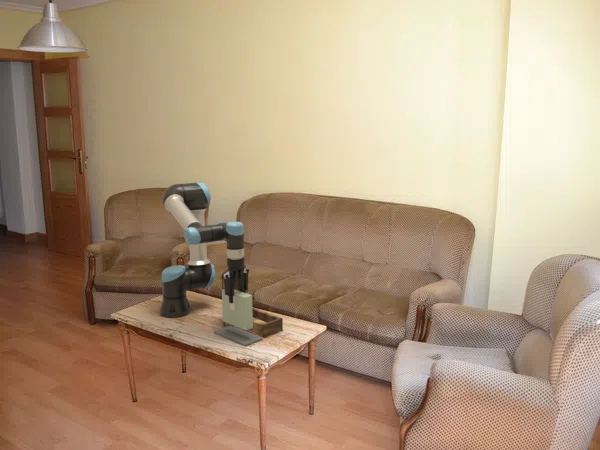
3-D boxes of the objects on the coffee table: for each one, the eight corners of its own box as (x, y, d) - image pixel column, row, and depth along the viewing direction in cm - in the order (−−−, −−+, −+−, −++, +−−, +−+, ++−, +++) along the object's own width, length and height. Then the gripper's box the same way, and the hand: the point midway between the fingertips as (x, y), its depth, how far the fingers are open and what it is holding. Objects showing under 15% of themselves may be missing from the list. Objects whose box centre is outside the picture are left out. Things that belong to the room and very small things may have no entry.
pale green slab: (222, 321, 243) (221, 289, 240) (229, 318, 246) (228, 287, 243) (246, 330, 232) (245, 297, 229) (252, 327, 235) (252, 295, 232)
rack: (234, 325, 252) (234, 313, 251) (253, 319, 260) (252, 307, 259) (264, 337, 238) (264, 325, 237) (282, 330, 247) (282, 318, 246)
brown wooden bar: (238, 326, 251) (238, 315, 250) (243, 324, 254) (243, 313, 253) (262, 336, 240) (262, 325, 239) (268, 334, 243) (268, 322, 241)
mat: (213, 332, 244) (213, 331, 244) (230, 326, 251) (230, 325, 251) (245, 346, 229) (245, 344, 229) (262, 339, 237) (262, 338, 236)
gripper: (225, 262, 224) (227, 315, 229) (255, 255, 237) (256, 305, 241) (214, 259, 229) (216, 311, 234) (244, 252, 242) (245, 301, 246)
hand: (237, 308), depth 238 cm, fingers closed on pale green slab, 4 cm apart
